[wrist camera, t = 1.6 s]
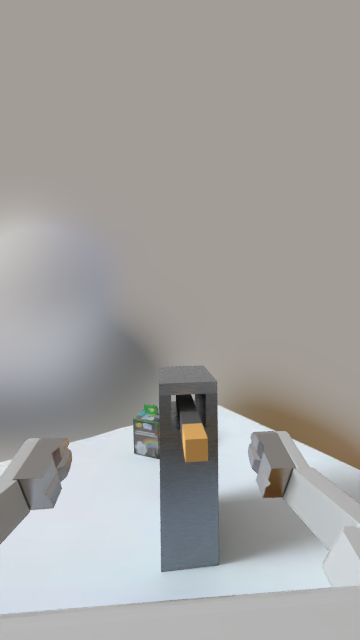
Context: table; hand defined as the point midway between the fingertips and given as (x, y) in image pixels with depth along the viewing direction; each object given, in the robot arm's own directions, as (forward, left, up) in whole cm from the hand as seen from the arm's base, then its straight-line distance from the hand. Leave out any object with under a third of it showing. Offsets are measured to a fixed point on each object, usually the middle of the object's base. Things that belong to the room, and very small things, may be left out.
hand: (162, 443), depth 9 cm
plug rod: (+4, +27, -13) cm, 30 cm away
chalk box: (-4, +60, -38) cm, 71 cm away
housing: (+4, +32, -37) cm, 49 cm away
